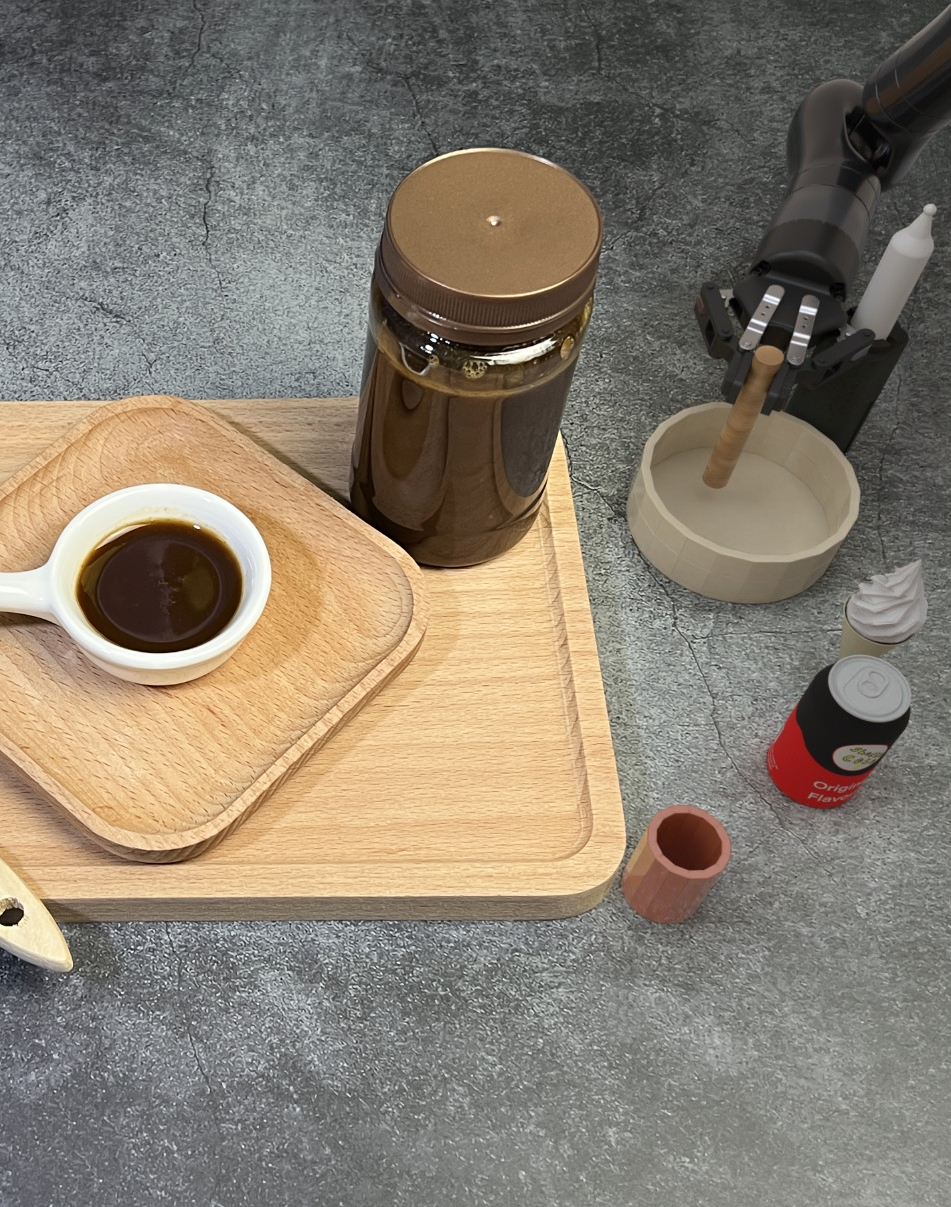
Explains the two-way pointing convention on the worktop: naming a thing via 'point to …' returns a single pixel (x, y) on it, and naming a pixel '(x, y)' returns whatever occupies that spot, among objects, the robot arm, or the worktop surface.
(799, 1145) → the worktop surface
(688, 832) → the utensil cup
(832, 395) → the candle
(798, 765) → the beverage can
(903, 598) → the ice cream cone
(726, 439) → the stirring stick
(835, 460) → the bowl
